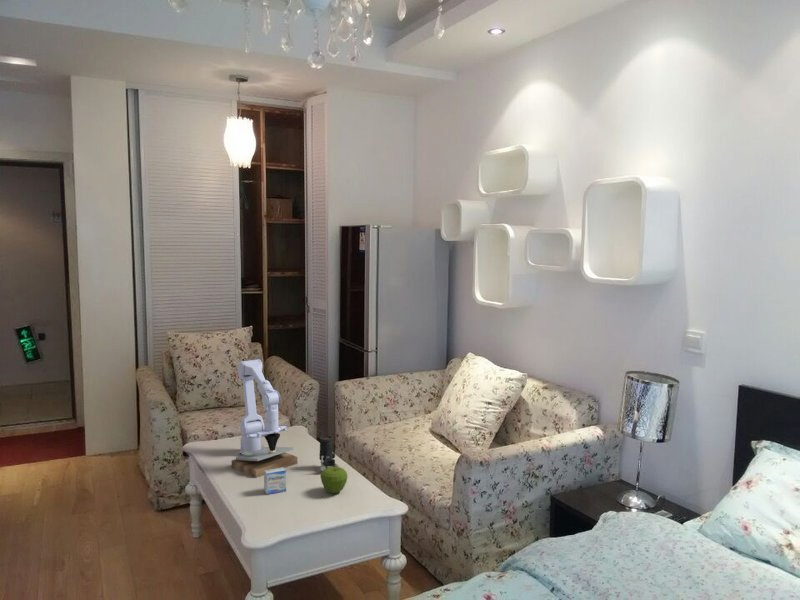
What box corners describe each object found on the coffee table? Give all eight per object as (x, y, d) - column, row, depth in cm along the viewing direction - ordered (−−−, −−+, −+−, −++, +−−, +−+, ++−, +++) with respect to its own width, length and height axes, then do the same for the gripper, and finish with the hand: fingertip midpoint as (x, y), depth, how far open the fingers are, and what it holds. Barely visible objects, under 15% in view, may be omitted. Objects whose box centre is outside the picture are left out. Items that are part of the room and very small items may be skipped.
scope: (320, 443, 257) (314, 436, 266) (320, 474, 258) (314, 466, 267) (339, 440, 260) (332, 433, 269) (339, 471, 262) (332, 464, 271)
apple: (316, 489, 243) (316, 465, 242) (340, 484, 248) (340, 460, 247) (327, 499, 234) (327, 474, 233) (352, 493, 239) (352, 469, 238)
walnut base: (231, 467, 267) (231, 460, 266) (272, 453, 283) (272, 447, 283) (256, 477, 255) (256, 470, 255) (297, 463, 271) (297, 456, 271)
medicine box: (267, 495, 238) (266, 473, 237) (264, 491, 242) (263, 469, 241) (286, 491, 241) (286, 470, 241) (283, 487, 245) (283, 466, 244)
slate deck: (235, 459, 267) (234, 453, 267) (270, 448, 281) (269, 443, 282) (257, 461, 256) (256, 455, 256) (293, 449, 270) (292, 443, 270)
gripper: (263, 425, 255) (264, 456, 257) (290, 417, 266) (291, 447, 267) (253, 421, 260) (254, 452, 261) (280, 414, 271) (281, 444, 272)
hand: (272, 450), depth 265 cm, fingers closed, pressing on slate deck
